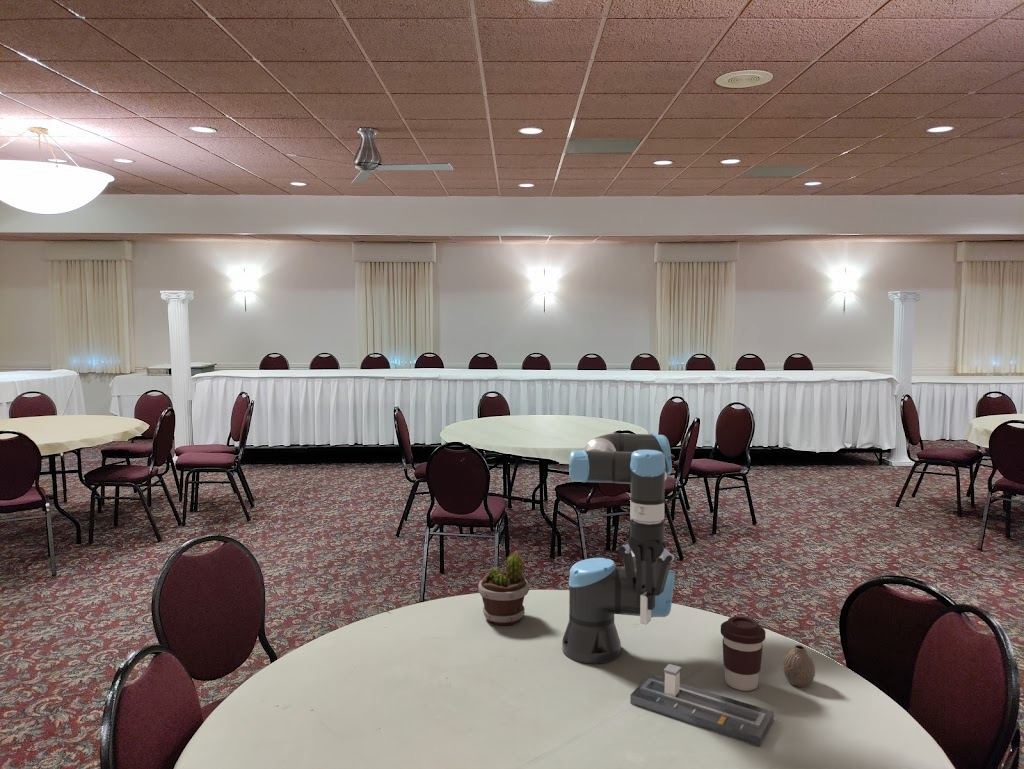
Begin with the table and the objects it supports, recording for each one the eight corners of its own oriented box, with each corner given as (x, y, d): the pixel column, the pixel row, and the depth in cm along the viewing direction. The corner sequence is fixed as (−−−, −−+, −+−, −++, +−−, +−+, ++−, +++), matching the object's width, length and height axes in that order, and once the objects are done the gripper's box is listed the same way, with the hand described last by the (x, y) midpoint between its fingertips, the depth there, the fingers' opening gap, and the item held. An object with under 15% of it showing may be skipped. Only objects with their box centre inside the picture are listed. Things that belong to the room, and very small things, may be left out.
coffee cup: (763, 676, 162) (765, 616, 161) (764, 698, 152) (766, 633, 151) (720, 670, 165) (721, 610, 164) (718, 690, 156) (720, 627, 155)
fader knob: (663, 693, 150) (663, 669, 150) (668, 687, 153) (669, 663, 152) (675, 697, 148) (675, 673, 148) (680, 691, 151) (681, 667, 151)
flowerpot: (483, 632, 186) (482, 561, 184) (474, 609, 201) (474, 544, 199) (534, 627, 189) (534, 557, 187) (522, 605, 204) (522, 541, 202)
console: (630, 703, 150) (630, 692, 150) (650, 682, 160) (650, 671, 159) (759, 747, 135) (760, 734, 134) (773, 720, 144) (774, 708, 143)
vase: (817, 692, 155) (819, 655, 154) (785, 688, 156) (787, 652, 156) (810, 677, 162) (812, 641, 161) (780, 674, 163) (781, 639, 162)
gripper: (613, 519, 152) (612, 620, 153) (668, 528, 144) (666, 635, 146) (627, 511, 158) (626, 609, 160) (681, 520, 151) (679, 623, 152)
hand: (645, 621), depth 153 cm, fingers closed
